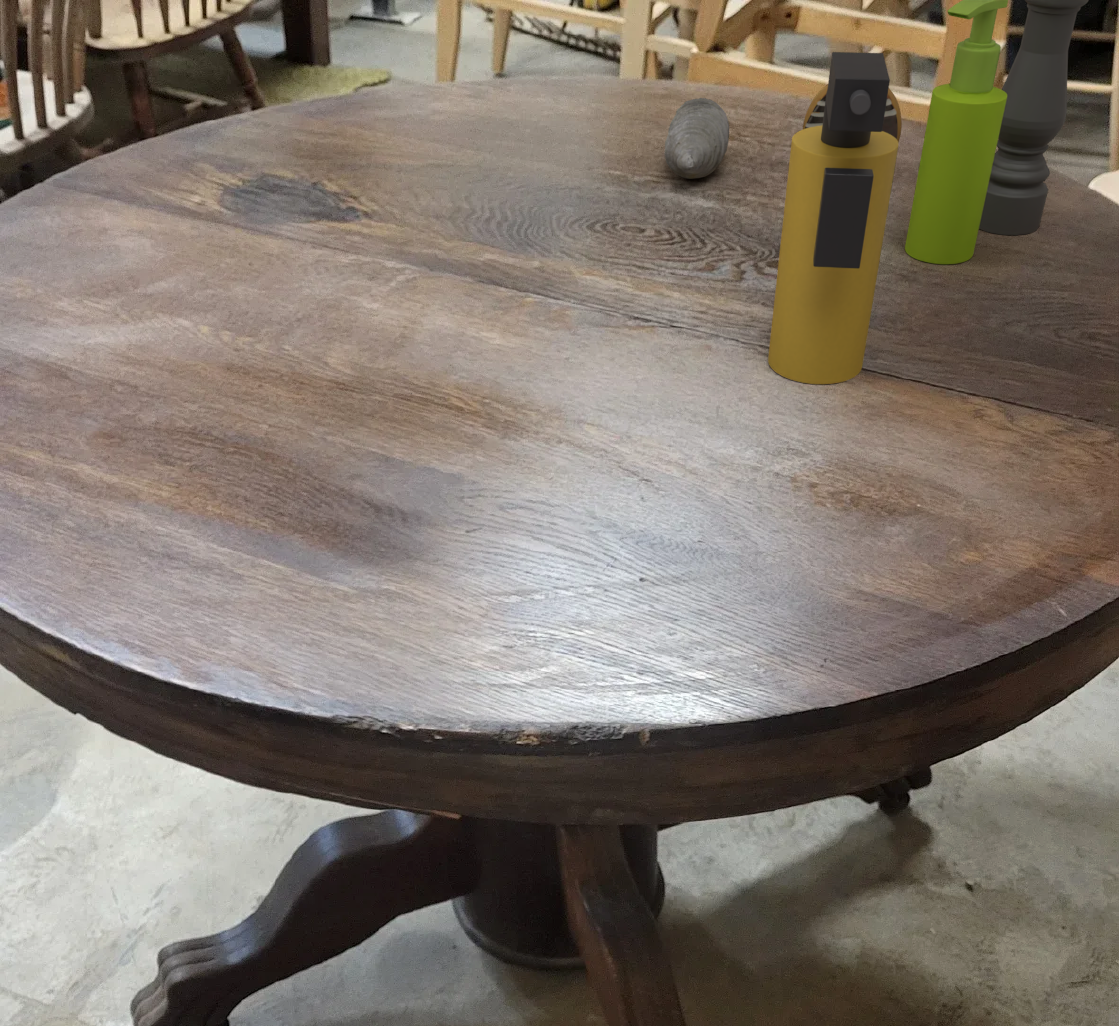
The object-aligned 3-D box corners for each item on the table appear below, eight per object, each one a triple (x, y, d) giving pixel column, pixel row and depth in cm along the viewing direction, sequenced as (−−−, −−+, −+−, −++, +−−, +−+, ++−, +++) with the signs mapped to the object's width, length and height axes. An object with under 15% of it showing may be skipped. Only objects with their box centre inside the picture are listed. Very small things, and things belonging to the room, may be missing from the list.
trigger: (858, 261, 81) (872, 168, 77) (859, 269, 80) (874, 175, 76) (812, 259, 82) (824, 167, 78) (813, 267, 81) (825, 173, 77)
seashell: (651, 165, 117) (675, 75, 115) (659, 176, 130) (680, 95, 127) (715, 183, 117) (740, 93, 114) (716, 192, 130) (739, 111, 127)
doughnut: (796, 180, 122) (808, 71, 116) (799, 167, 125) (811, 61, 118) (892, 186, 120) (910, 76, 114) (893, 173, 123) (911, 66, 117)
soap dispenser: (883, 253, 108) (926, -1, 95) (930, 233, 111) (977, -15, 98) (940, 273, 104) (992, 12, 91) (986, 252, 108) (1043, -3, 95)
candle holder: (972, 207, 116) (1037, -103, 100) (1040, 214, 114) (1117, -100, 98) (967, 231, 111) (1034, -90, 95) (1038, 238, 110) (1118, -86, 94)
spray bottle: (859, 344, 94) (908, 37, 80) (867, 413, 86) (924, 84, 72) (768, 340, 95) (800, 35, 81) (767, 407, 87) (803, 81, 73)
